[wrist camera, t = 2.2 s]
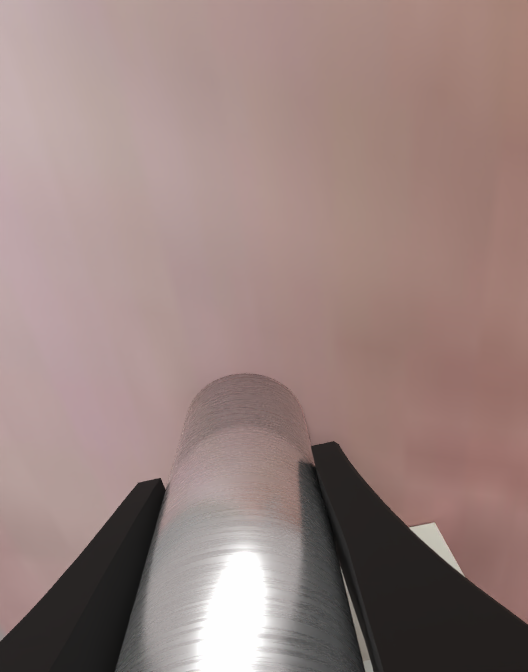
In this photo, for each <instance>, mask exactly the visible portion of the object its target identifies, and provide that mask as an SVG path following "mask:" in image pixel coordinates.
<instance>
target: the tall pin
mask: <svg viewBox="0 0 528 672" xmlns="http://www.w3.org/2000/svg"><path fill="white" fill-rule="evenodd" d="M115 672H365V668H364V664H363V660H362V656H361V651H360V647H359V643H358V639H357V635H356V631H355V626H354V622H353V618H352V614H351V610H350V605H349V601H348V597H347V593H346V589H345V584H344V580H343V576H342V572H341V568H340V564H339V559H338V555H337V551H336V547H335V543H334V538H333V534H332V530H331V526H330V522H329V518H328V514H327V510H326V507H325V504H324V500H323V497H322V493H321V489H320V484H319V480H318V476H317V472H316V467H315V463H314V459H313V454H312V450H311V442H310V438H309V434H308V430H307V425H306V421H305V417H304V413H303V410H302V407H301V405H300V403H299V401H298V399H297V398H296V397H295V395H294V394H293V393H292V392H291V391H290V390H289V389H288V388H287V387H285V386H284V385H283V384H281V383H279V382H278V381H276V380H274V379H271V378H269V377H265V376H262V375H257V374H235V375H230V376H226V377H223V378H220V379H218V380H216V381H214V382H212V383H210V384H209V385H207V386H206V387H205V388H204V389H202V390H201V391H200V392H199V393H198V394H197V396H196V397H195V398H194V400H193V401H192V403H191V405H190V407H189V410H188V413H187V416H186V420H185V424H184V427H183V431H182V434H181V438H180V441H179V445H178V448H177V452H176V456H175V459H174V463H173V466H172V470H171V473H170V477H169V481H168V484H167V488H166V491H165V495H164V498H163V502H162V506H161V509H160V513H159V516H158V520H157V523H156V527H155V531H154V534H153V538H152V541H151V545H150V548H149V552H148V556H147V559H146V563H145V566H144V570H143V573H142V577H141V580H140V584H139V588H138V591H137V595H136V598H135V602H134V605H133V609H132V613H131V616H130V620H129V623H128V627H127V630H126V634H125V638H124V641H123V645H122V648H121V652H120V655H119V659H118V663H117V666H116V670H115Z"/></svg>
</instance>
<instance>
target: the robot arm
mask: <svg viewBox="0 0 528 672" xmlns="http://www.w3.org/2000/svg"><path fill="white" fill-rule="evenodd" d="M311 450H312V454H313V459H314V463H315V467H316V472H317V476H318V480H319V484H320V489H321V493H322V497H323V500H324V504H325V507H326V510H327V514H328V518H329V522H330V526H331V530H332V534H333V538H334V543H335V547H336V551H337V555H338V559H339V564H340V567H341V570H342V573H343V576H344V579H345V582H346V585H347V588H348V591H349V594H350V598H351V601H352V604H353V607H354V610H355V613H356V616H357V619H358V622H359V625H360V628H361V631H362V634H363V637H364V640H365V643H366V647H367V650H368V654H369V657H370V660H371V664H372V667H373V671H374V672H528V624H526V623H525V622H524V621H522V620H521V619H520V618H518V617H517V616H516V615H514V614H513V613H512V612H510V611H509V610H508V609H506V608H505V607H504V606H502V605H501V604H500V603H498V602H497V601H496V600H494V599H493V598H492V597H490V596H489V595H487V594H486V593H485V592H483V591H482V590H481V589H479V588H478V587H477V586H475V585H474V584H473V583H472V582H470V581H469V580H468V579H467V578H466V577H464V576H463V575H462V574H461V573H459V572H458V571H457V570H456V569H455V568H453V567H452V566H451V565H450V564H448V563H447V562H446V561H445V560H444V559H443V558H442V557H440V556H439V555H438V554H437V553H436V552H435V551H434V550H432V549H431V548H430V547H429V546H428V545H427V544H426V543H425V542H423V541H422V540H421V539H420V538H419V537H418V536H417V535H416V534H415V533H414V532H413V531H412V530H411V529H410V528H409V527H408V526H407V525H406V524H405V523H404V522H403V521H402V520H401V519H400V518H399V517H398V516H397V515H395V514H394V512H393V511H392V510H391V509H390V508H389V507H388V506H387V505H386V504H385V503H384V502H383V501H382V500H381V499H380V497H379V496H378V495H377V494H376V493H375V492H374V491H373V490H372V488H371V487H370V486H369V485H368V484H367V483H366V482H365V480H364V479H363V478H362V477H361V476H360V474H359V473H358V472H357V470H356V469H355V468H354V467H353V465H352V464H351V463H350V461H349V460H348V458H347V457H346V456H345V454H344V452H343V451H342V449H341V448H340V446H339V444H337V443H336V442H334V441H333V442H328V443H324V444H319V445H314V446H311ZM165 491H166V490H165V487H164V485H163V483H162V480H161V478H159V479H154V480H149V481H144V482H140V483H138V484H137V485H136V486H135V488H134V489H133V490H132V491H131V492H130V493H129V495H128V496H127V497H126V498H125V500H124V501H123V502H122V503H121V505H120V506H119V507H118V508H117V510H116V511H115V512H114V513H113V515H112V516H111V517H110V518H109V520H108V521H107V522H106V523H105V525H104V526H103V527H102V528H101V530H100V531H99V532H98V533H97V535H96V536H95V537H94V538H93V540H92V541H91V542H90V543H89V544H88V546H87V547H86V548H85V549H84V551H83V552H82V553H81V554H80V555H79V557H78V558H77V559H76V560H75V561H74V562H73V563H72V565H71V566H70V567H69V568H68V569H67V570H66V571H65V573H64V574H63V575H62V576H61V577H60V578H59V580H58V581H57V582H56V583H55V584H54V585H53V586H52V588H51V589H50V590H49V591H48V592H47V593H46V594H45V596H44V597H43V598H42V599H41V600H40V601H39V602H38V603H37V604H36V605H35V606H34V608H33V609H32V610H31V611H30V612H29V613H28V614H27V615H26V616H25V617H24V618H23V619H22V620H21V621H20V622H19V623H18V624H17V625H16V626H15V627H14V628H13V629H12V630H11V631H10V632H9V633H8V634H7V635H6V636H5V637H4V638H3V640H1V641H0V672H115V670H116V666H117V663H118V659H119V655H120V652H121V648H122V645H123V641H124V638H125V634H126V630H127V627H128V623H129V620H130V616H131V613H132V609H133V605H134V602H135V598H136V595H137V591H138V588H139V584H140V580H141V577H142V573H143V570H144V566H145V563H146V559H147V556H148V552H149V548H150V545H151V541H152V538H153V534H154V531H155V527H156V523H157V520H158V516H159V513H160V509H161V506H162V502H163V498H164V495H165Z"/></svg>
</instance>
